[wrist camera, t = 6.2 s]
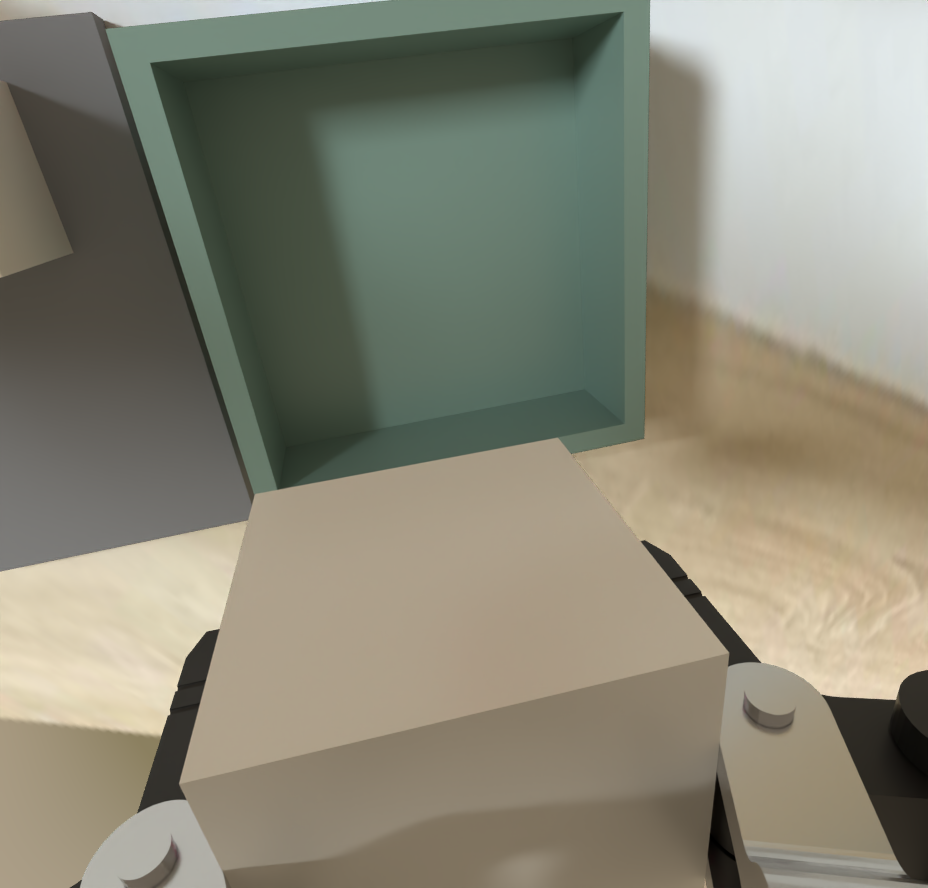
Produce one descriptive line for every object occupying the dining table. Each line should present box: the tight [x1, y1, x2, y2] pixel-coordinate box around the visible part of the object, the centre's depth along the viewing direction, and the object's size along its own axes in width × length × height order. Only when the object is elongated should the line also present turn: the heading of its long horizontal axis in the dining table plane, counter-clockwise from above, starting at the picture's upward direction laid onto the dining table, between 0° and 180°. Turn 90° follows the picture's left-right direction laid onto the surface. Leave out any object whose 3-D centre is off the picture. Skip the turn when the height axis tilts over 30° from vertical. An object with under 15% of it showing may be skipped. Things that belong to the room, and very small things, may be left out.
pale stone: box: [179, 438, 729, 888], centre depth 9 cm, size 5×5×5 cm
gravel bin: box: [105, 0, 650, 496], centre depth 21 cm, size 15×15×5 cm
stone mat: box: [0, 12, 254, 571], centre depth 22 cm, size 11×18×1 cm, turn 7°
